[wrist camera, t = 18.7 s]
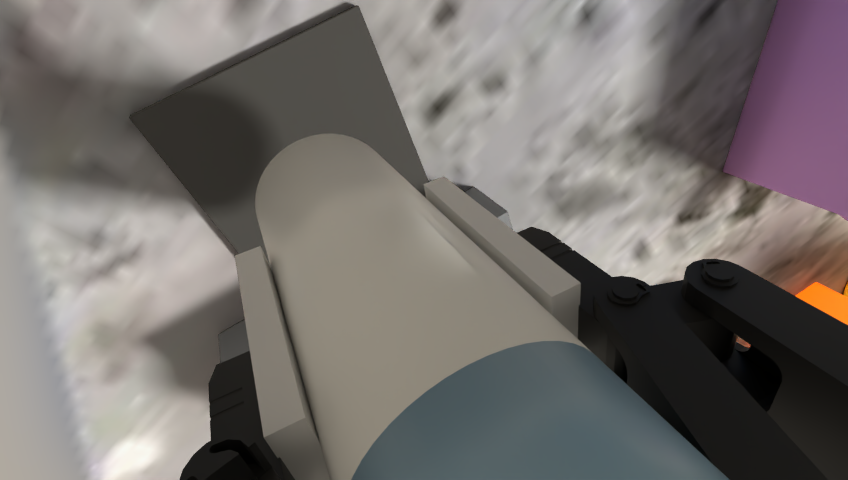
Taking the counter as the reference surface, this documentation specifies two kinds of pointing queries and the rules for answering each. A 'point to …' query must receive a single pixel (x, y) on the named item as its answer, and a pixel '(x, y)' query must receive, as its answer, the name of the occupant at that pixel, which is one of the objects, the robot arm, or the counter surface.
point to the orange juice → (826, 301)
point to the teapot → (799, 107)
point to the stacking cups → (846, 290)
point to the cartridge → (437, 341)
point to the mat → (277, 119)
